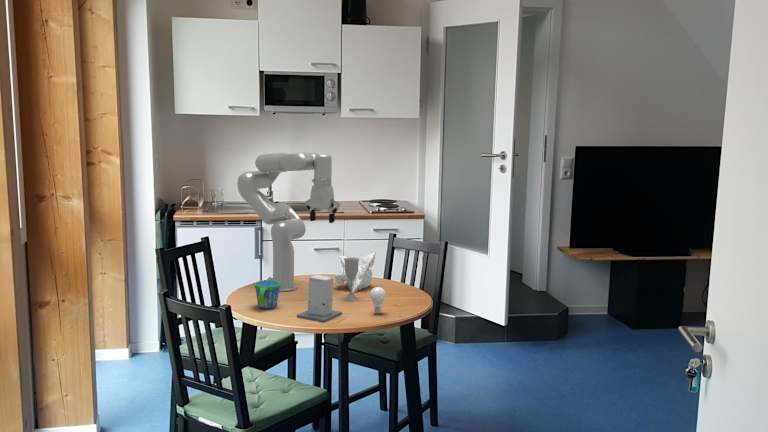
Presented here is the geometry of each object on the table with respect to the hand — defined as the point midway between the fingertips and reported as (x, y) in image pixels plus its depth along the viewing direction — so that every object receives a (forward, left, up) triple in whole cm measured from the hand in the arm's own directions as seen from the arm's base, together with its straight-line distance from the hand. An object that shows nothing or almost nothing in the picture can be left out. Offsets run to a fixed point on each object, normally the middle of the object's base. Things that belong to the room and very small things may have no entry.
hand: (322, 221), depth 289 cm
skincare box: (+16, -26, -32) cm, 45 cm away
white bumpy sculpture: (+5, +21, -34) cm, 40 cm away
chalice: (+14, +2, -34) cm, 36 cm away
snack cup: (-9, -27, -34) cm, 44 cm away
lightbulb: (+34, -11, -34) cm, 49 cm away
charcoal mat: (+16, -26, -33) cm, 45 cm away
